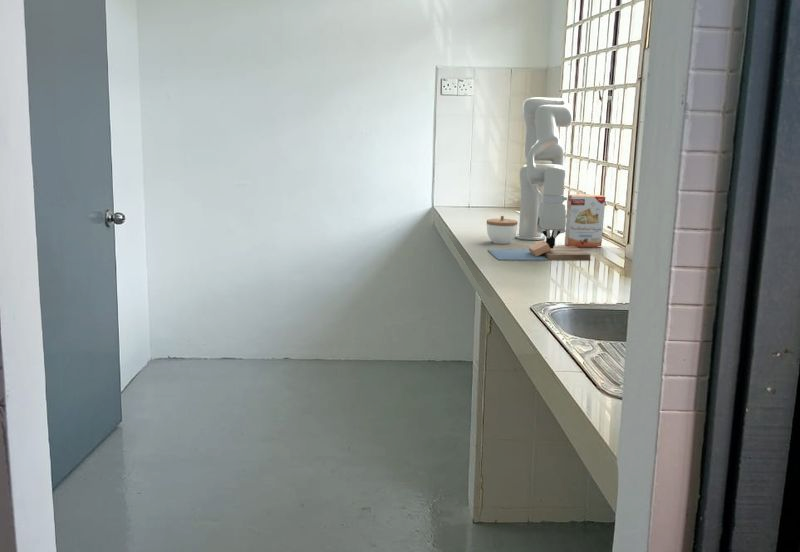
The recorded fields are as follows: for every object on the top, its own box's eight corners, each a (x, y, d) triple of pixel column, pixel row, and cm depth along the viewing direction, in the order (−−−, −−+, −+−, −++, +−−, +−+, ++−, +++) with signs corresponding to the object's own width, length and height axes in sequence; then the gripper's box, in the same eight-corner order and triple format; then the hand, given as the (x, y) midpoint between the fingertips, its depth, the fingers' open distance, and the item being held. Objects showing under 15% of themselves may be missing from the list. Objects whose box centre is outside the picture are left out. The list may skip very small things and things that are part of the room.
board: (535, 251, 313) (535, 246, 312) (575, 251, 314) (575, 246, 314) (547, 259, 295) (548, 254, 295) (590, 259, 296) (590, 254, 296)
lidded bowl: (515, 245, 325) (516, 218, 323) (484, 244, 327) (485, 217, 325) (517, 240, 337) (518, 214, 335) (487, 239, 339) (488, 213, 337)
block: (530, 252, 307) (527, 246, 307) (544, 245, 307) (541, 240, 307) (536, 256, 299) (533, 250, 298) (550, 249, 299) (548, 243, 298)
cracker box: (567, 247, 323) (571, 195, 319) (564, 244, 329) (567, 194, 325) (602, 247, 324) (605, 196, 319) (597, 245, 330) (601, 194, 325)
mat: (487, 250, 312) (487, 249, 312) (533, 250, 313) (534, 249, 313) (498, 260, 292) (498, 259, 292) (547, 260, 294) (547, 259, 294)
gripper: (569, 198, 304) (566, 246, 308) (530, 198, 303) (528, 246, 306) (575, 201, 297) (572, 249, 301) (536, 200, 295) (533, 249, 299)
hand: (550, 247), depth 303 cm, fingers closed
